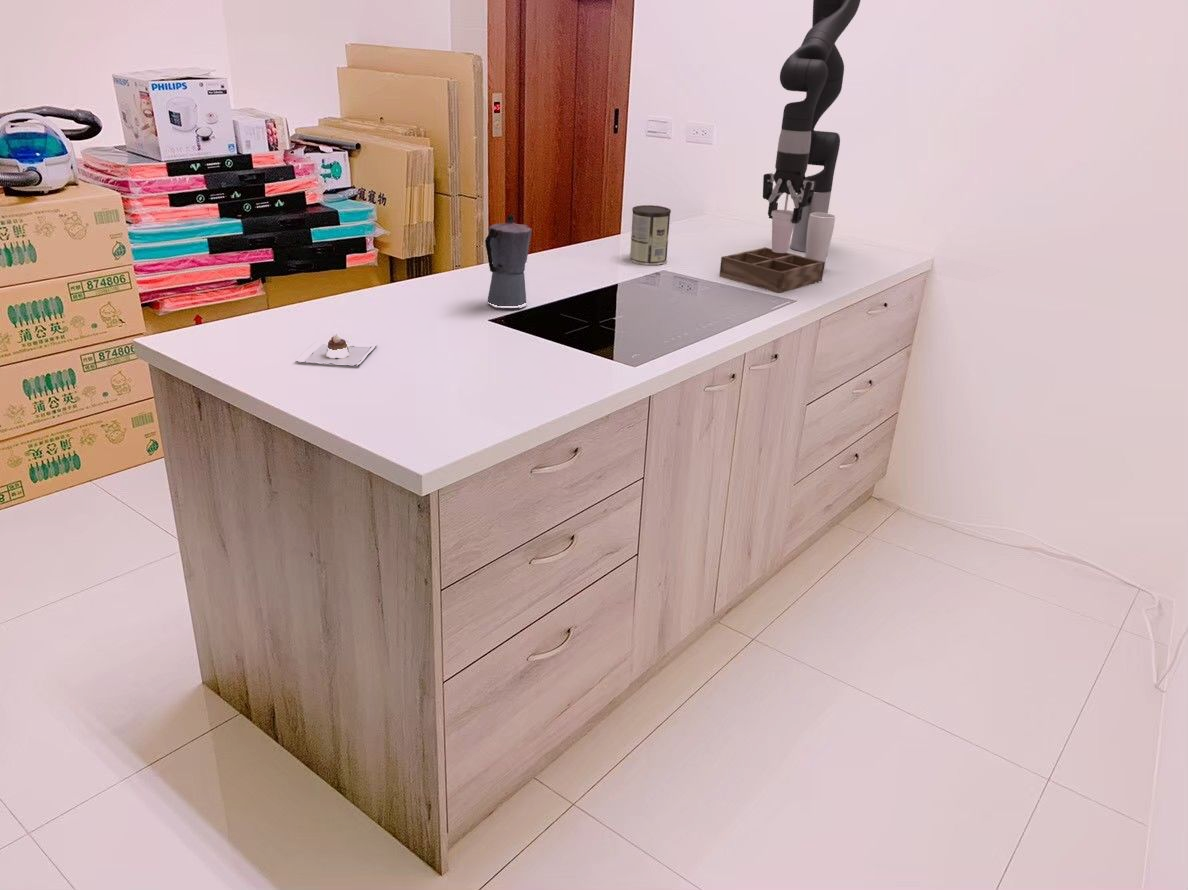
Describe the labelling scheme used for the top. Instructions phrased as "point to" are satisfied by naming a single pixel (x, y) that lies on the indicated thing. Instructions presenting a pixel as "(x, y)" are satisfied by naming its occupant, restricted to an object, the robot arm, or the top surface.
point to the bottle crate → (771, 269)
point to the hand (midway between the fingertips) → (783, 220)
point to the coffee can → (649, 234)
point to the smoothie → (781, 228)
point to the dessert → (336, 343)
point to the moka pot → (507, 262)
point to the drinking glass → (819, 235)
